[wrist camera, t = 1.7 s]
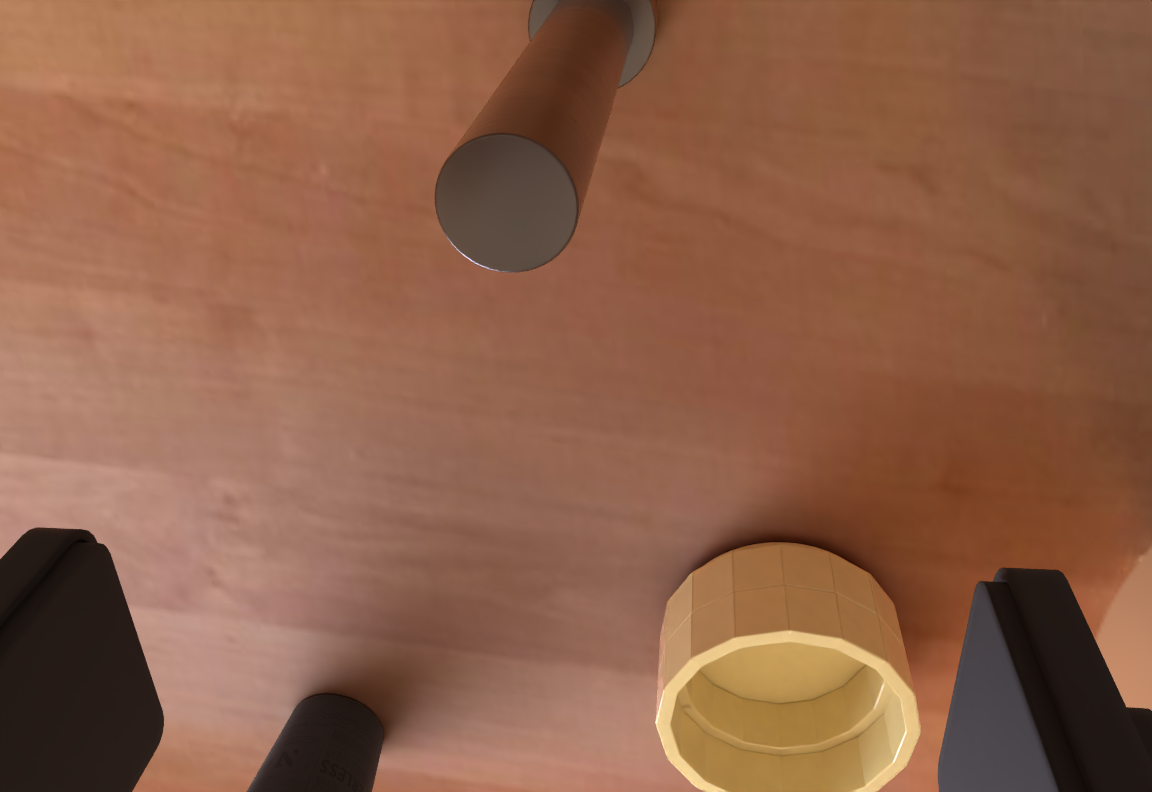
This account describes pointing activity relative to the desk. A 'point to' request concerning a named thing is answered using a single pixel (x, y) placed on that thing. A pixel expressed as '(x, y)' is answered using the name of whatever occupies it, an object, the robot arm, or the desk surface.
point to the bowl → (784, 675)
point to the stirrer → (542, 133)
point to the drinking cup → (324, 749)
